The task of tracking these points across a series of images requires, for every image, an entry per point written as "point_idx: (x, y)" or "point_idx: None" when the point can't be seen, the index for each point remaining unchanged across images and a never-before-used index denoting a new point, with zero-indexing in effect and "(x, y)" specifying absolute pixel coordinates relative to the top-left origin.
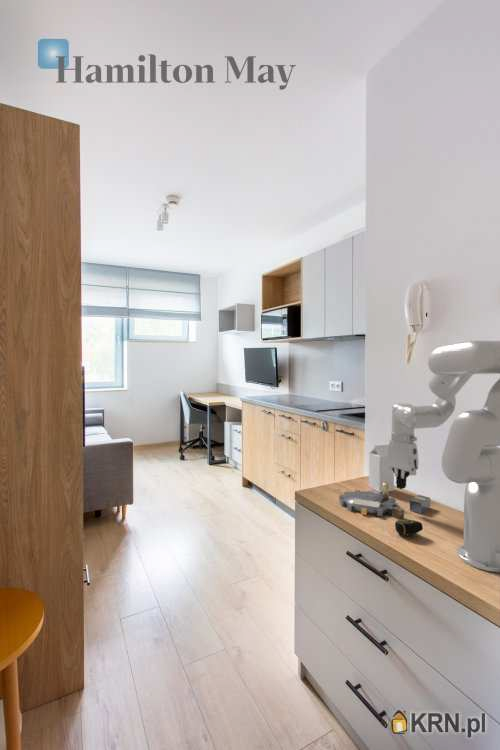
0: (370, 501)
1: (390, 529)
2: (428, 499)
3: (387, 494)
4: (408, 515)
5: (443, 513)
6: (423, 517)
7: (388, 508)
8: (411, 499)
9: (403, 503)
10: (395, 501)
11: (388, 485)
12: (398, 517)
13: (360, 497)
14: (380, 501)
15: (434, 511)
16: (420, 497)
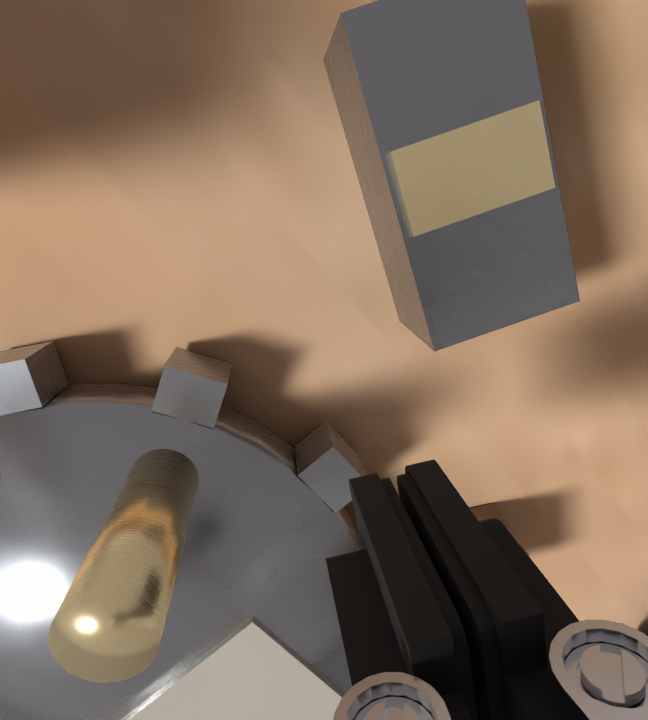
0: (187, 691)
1: None
2: (524, 35)
3: (188, 522)
4: (475, 427)
5: (637, 21)
6: (578, 332)
7: None
8: (428, 312)
9: (209, 215)
10: (228, 377)
11: (159, 595)
12: None
13: (21, 696)
14: (209, 582)
15: (549, 70)
16: (452, 130)
